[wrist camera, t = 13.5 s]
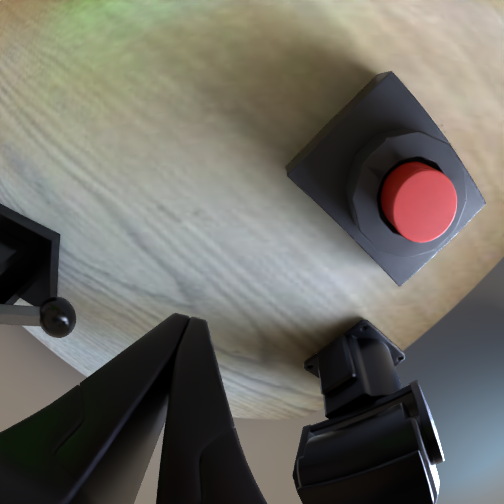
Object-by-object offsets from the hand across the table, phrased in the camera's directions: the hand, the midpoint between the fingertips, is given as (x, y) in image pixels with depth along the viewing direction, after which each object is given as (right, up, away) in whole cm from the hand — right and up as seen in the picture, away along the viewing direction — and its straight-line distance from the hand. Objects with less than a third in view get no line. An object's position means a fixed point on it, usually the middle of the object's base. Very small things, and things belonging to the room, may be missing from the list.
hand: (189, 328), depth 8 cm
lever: (-17, -2, +10) cm, 19 cm away
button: (+10, +5, +6) cm, 12 cm away
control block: (+10, +6, +10) cm, 15 cm away
